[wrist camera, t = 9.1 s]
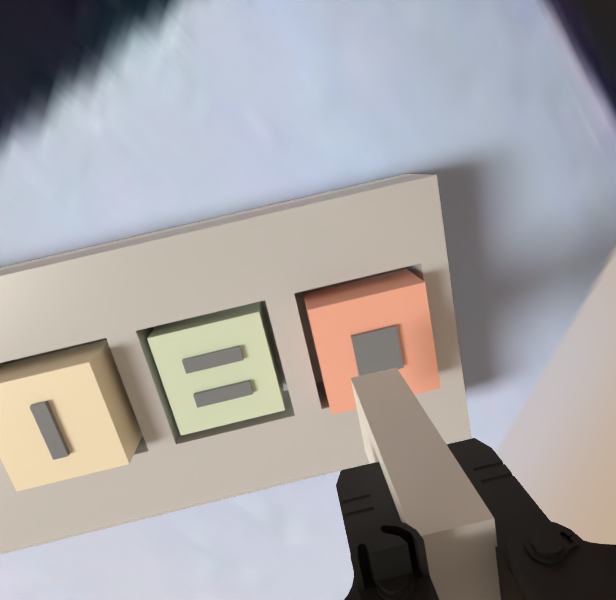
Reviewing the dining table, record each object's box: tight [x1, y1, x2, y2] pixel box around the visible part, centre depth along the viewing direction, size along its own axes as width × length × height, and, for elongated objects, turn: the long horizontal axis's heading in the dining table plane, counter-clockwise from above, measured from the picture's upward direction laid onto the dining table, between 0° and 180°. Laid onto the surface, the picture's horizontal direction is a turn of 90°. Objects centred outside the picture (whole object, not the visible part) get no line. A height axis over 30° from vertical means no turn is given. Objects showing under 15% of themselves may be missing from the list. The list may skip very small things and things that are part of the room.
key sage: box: [147, 301, 285, 435], centre depth 20 cm, size 5×5×3 cm
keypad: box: [0, 173, 471, 554], centre depth 21 cm, size 27×12×4 cm, turn 102°
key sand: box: [0, 340, 143, 491], centre depth 19 cm, size 5×5×3 cm
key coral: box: [303, 269, 441, 415], centre depth 19 cm, size 5×5×3 cm
